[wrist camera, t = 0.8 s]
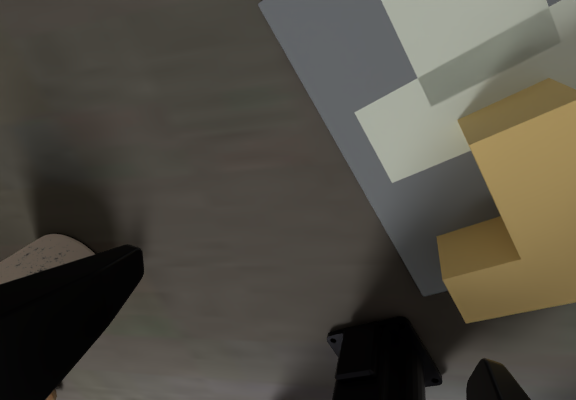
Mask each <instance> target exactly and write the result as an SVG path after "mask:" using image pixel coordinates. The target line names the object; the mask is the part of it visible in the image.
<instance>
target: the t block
mask: <svg viewBox="0 0 576 400" xmlns="http://www.w3.org/2000/svg"><path fill="white" fill-rule="evenodd" d="M457 121H458V123H459V125H460V128H461V130H462V132H463V134H464V136H465V139H466V141H467V143H468V145H469V147H470V150H471V152H472V154H473V156H474V158H475V161H476V163H477V165H478V167H479V169H480V172H481V174H482V176H483V178H484V180H485V183H486V185H487V187H488V189H489V191H490V194H491V196H492V198H493V200H494V202H495V205H496V207H497V209H498V211H499V213H500V216H499V217H496V218H493V219H490V220H487V221H483V222H480V223H477V224H474V225H471V226H468V227H465V228H461V229H458V230H455V231H452V232H449V233H446V234H443V235H439V236H436V237H437V245H438V252H439V259H440V266H441V274H442V280H443V282H444V284H445V286H446V287H447V289H448V291H449V293H450V295H451V297H452V299H453V300H454V302H455V304H456V306H457V308H458V310H459V312H460V313H461V315H462V317H463V319H464V321H465V323H472V322H477V321H482V320H487V319H492V318H497V317H502V316H508V315H513V314H518V313H523V312H528V311H533V310H538V309H543V308H549V307H554V306H559V305H564V304H569V303H574V302H576V89H573V88H571V87H569V86H566V85H564V84H562V83H560V82H557V81H555V80H553V79H550V78H547V79H545V80H543V81H541V82H539V83H536V84H534V85H532V86H530V87H528V88H526V89H523V90H521V91H519V92H517V93H515V94H513V95H510V96H508V97H506V98H504V99H502V100H500V101H497V102H495V103H493V104H491V105H489V106H486V107H484V108H482V109H480V110H478V111H476V112H473V113H471V114H469V115H467V116H465V117H463V118H460V119H458V120H457Z"/></svg>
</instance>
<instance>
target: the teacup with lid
mask: <svg viewBox="0 0 576 400" xmlns="http://www.w3.org/2000/svg"><path fill="white" fill-rule="evenodd" d="M91 255H95V253H94V252H93V251H92V250H90V249H89V248H88V247H87V246H85V245H84V244H82V243H81V242H79V241H77V240H75V239H73V238H71V237H68V236H65V235H61V234H48V235H45V236H42V237H41V238H39V239H37V240H36V241H34V242H32V243H31V244H29V245H27V246H26V247H24V248H22V249H21V250H19V251H18V252H16V253H14V254H13V255H11V256H9V257H8V258H6V259H4V260H3V261H1V262H0V284H3V283H6V282H9V281H12V280H15V279H19V278H22V277H25V276H28V275H31V274H34V273H38V272H41V271H44V270H47V269H50V268H53V267H57V266H60V265H63V264H66V263H69V262H72V261H76V260H79V259H82V258H85V257H88V256H91Z"/></svg>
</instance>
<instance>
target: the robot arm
mask: <svg viewBox="0 0 576 400" xmlns="http://www.w3.org/2000/svg"><path fill="white" fill-rule="evenodd" d="M143 274H144V264H143V253H142V250H141V249H140V248H138V247H135V246H132V245H123V246H120V247H117V248H113V249H110V250H107V251H104V252H101V253H98V254H95V255H91V256H88V257H85V258H82V259H79V260H76V261H72V262H69V263H66V264H63V265H60V266H57V267H53V268H50V269H47V270H44V271H41V272H38V273H34V274H31V275H28V276H25V277H22V278H19V279H15V280H12V281H9V282H6V283H3V284H0V400H46V399H47V397H48V396H49V395H50V394H51V393H52V392H53V390H54V389H55V388H56V387H57V386H58V385H59V383H60V382H61V381H62V380H63V379H64V378H65V376H66V375H67V374H68V373H69V372H70V371H71V369H72V368H73V367H74V366H75V365H76V363H77V362H78V361H79V360H80V359H81V358H82V356H83V355H84V354H85V353H86V352H87V351H88V349H89V348H90V347H91V346H92V345H93V344H94V342H95V341H96V340H97V339H98V338H99V336H100V335H101V334H102V333H103V332H104V331H105V329H106V328H107V327H108V326H109V324H110V323H111V322H112V320H113V319H114V318H115V316H116V315H117V313H118V312H119V311H120V309H121V308H122V306H123V305H124V303H125V302H126V301H127V299H128V298H129V296H130V295H131V293H132V292H133V291H134V289H135V288H136V286H137V285H138V283H139V282H140V280H141V279H142V277H143ZM401 324H404V325H401ZM333 338H334V339H333ZM327 342H328V343H329V345H330V346H331V348H332V349H333V350H334V352H335V353H336V355H337V356H338V362H337V367H336V373H335V379H336V382H335V387H334V393H333V398H332V400H426V398H425V387H428V386H437V385H440V384H442V375H441V374H440V372H439V370H438V368H437V367H436V365H435V363H434V362H433V360H432V358H431V357H430V355H429V353H428V352H427V350H426V348H425V347H424V345H423V343H422V342H421V340H420V338H419V337H418V335H417V333H416V331H415V330H414V328H413V326H412V325H411V323H410V321H409V320H408V319H407V318H405V317H396V318H392V319H387V320H383V321H378V322H374V323H369V324H365V325H360V326H356V327H351V328H347V329H342V330H338V331H333V332H330V333H329V334H328V336H327ZM466 393H467V400H531V399H530V398H529V397H528V395H527V394H526V393H525V392H524V390H523V389H522V388H521V387H520V385H519V384H518V383H517V381H516V380H515V379H514V378H513V376H512V375H511V374H510V372H509V371H508V370H507V369H506V367H505V366H504V365H503V364H501V363H499V362H496V361H492V360H489V359H486V358H483V359H481V360H480V361H479V363H478V365H477V366H476V368H475V370H474V371H473V373H472V375H471V376H470V378H469V380H468V383H467V390H466Z"/></svg>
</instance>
